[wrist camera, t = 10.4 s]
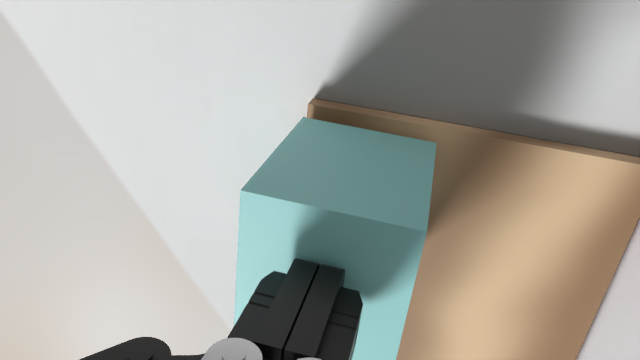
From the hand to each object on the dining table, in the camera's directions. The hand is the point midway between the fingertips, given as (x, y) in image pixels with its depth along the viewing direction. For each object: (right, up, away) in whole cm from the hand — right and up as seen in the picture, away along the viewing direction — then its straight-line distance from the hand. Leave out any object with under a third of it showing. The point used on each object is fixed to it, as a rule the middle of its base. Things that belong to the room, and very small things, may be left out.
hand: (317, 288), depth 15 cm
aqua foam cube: (+2, +3, +6) cm, 7 cm away
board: (+5, 0, +8) cm, 9 cm away
